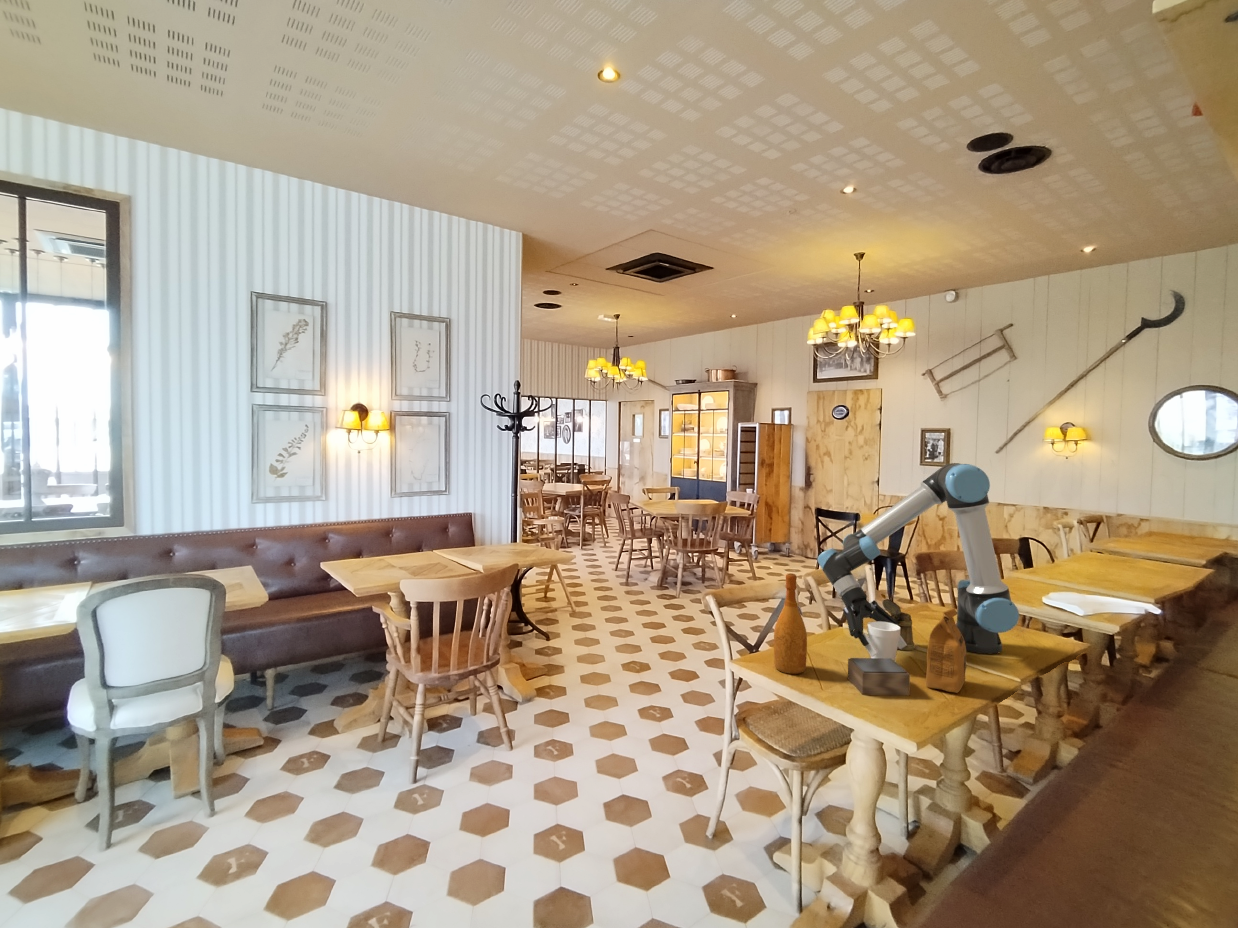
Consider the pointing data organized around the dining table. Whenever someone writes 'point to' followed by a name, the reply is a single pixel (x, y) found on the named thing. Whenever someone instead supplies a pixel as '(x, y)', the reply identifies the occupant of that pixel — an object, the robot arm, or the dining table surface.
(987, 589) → the robot arm
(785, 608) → the wine bottle
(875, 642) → the foam cup
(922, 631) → the dining table surface
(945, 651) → the coffee package
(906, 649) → the wooden mug
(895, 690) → the walnut stand
